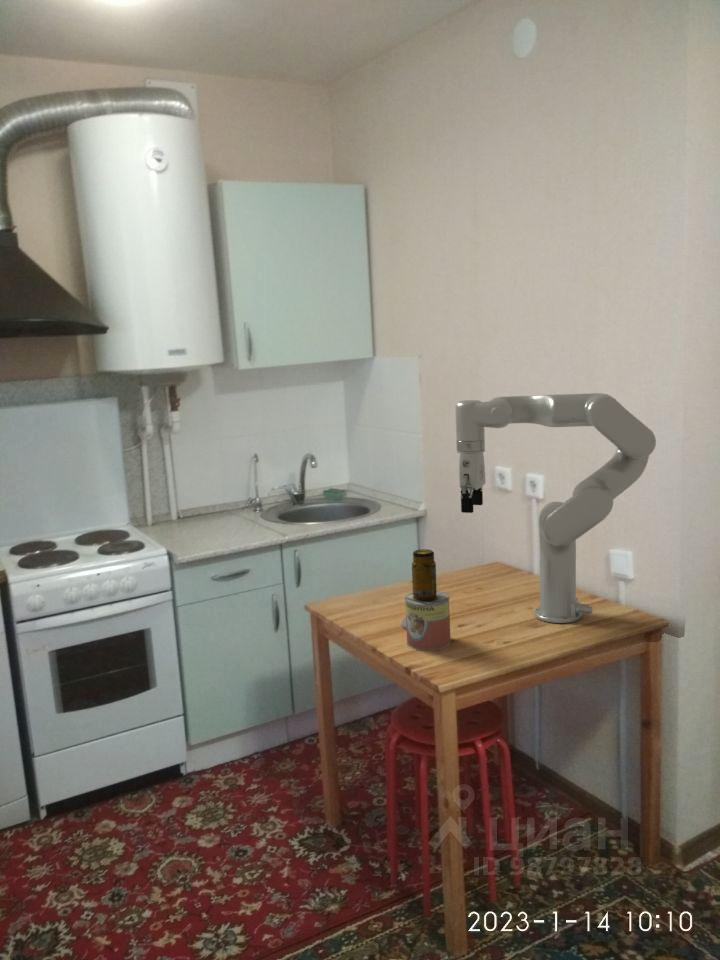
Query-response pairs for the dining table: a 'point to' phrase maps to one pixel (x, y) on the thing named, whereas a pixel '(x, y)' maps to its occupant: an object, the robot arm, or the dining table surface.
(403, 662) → the dining table surface
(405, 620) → the saucer
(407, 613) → the canned food
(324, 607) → the dining table surface
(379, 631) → the dining table surface
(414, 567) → the condiment
